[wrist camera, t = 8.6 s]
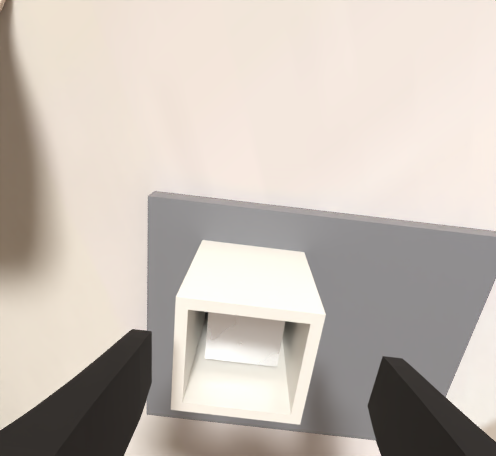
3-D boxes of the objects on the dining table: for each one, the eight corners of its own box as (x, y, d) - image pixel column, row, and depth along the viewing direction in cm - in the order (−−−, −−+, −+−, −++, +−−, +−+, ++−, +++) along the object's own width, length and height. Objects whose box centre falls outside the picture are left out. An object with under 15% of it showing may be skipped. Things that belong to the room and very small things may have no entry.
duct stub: (280, 256, 19) (288, 304, 14) (272, 306, 20) (277, 366, 15) (222, 250, 19) (209, 295, 14) (217, 300, 20) (204, 358, 15)
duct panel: (496, 231, 18) (512, 238, 17) (416, 430, 23) (424, 445, 22) (154, 191, 18) (148, 196, 17) (152, 400, 23) (146, 414, 22)
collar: (304, 252, 18) (325, 314, 12) (287, 336, 19) (300, 424, 14) (202, 240, 18) (175, 296, 12) (196, 325, 19) (170, 409, 14)
